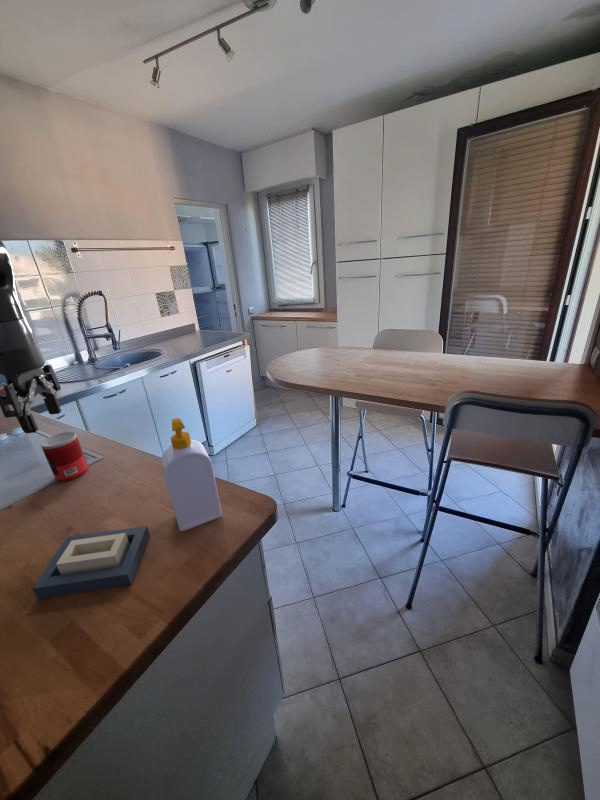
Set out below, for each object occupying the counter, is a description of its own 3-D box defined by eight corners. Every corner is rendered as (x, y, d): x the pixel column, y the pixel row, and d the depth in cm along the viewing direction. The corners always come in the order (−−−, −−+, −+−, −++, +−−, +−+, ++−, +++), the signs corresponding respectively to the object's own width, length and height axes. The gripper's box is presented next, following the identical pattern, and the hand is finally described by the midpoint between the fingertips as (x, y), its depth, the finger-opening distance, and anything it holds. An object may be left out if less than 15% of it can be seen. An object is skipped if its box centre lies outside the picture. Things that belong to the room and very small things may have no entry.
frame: (62, 578, 60) (55, 564, 58) (77, 553, 65) (71, 540, 63) (120, 569, 61) (114, 555, 59) (130, 546, 66) (125, 532, 64)
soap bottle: (215, 498, 78) (196, 410, 69) (222, 516, 72) (203, 423, 63) (175, 512, 75) (150, 421, 66) (180, 532, 69) (153, 435, 60)
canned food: (95, 465, 95) (82, 431, 91) (73, 483, 88) (58, 447, 84) (72, 464, 96) (58, 431, 92) (48, 481, 89) (32, 446, 85)
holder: (37, 599, 57) (31, 588, 56) (71, 546, 67) (67, 536, 66) (131, 584, 58) (127, 574, 57) (150, 535, 69) (147, 525, 68)
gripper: (15, 338, 68) (45, 410, 75) (-41, 357, 55) (0, 441, 62) (54, 335, 69) (80, 406, 75) (7, 352, 56) (43, 437, 62)
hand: (44, 422), depth 68 cm, fingers open, 8 cm apart
